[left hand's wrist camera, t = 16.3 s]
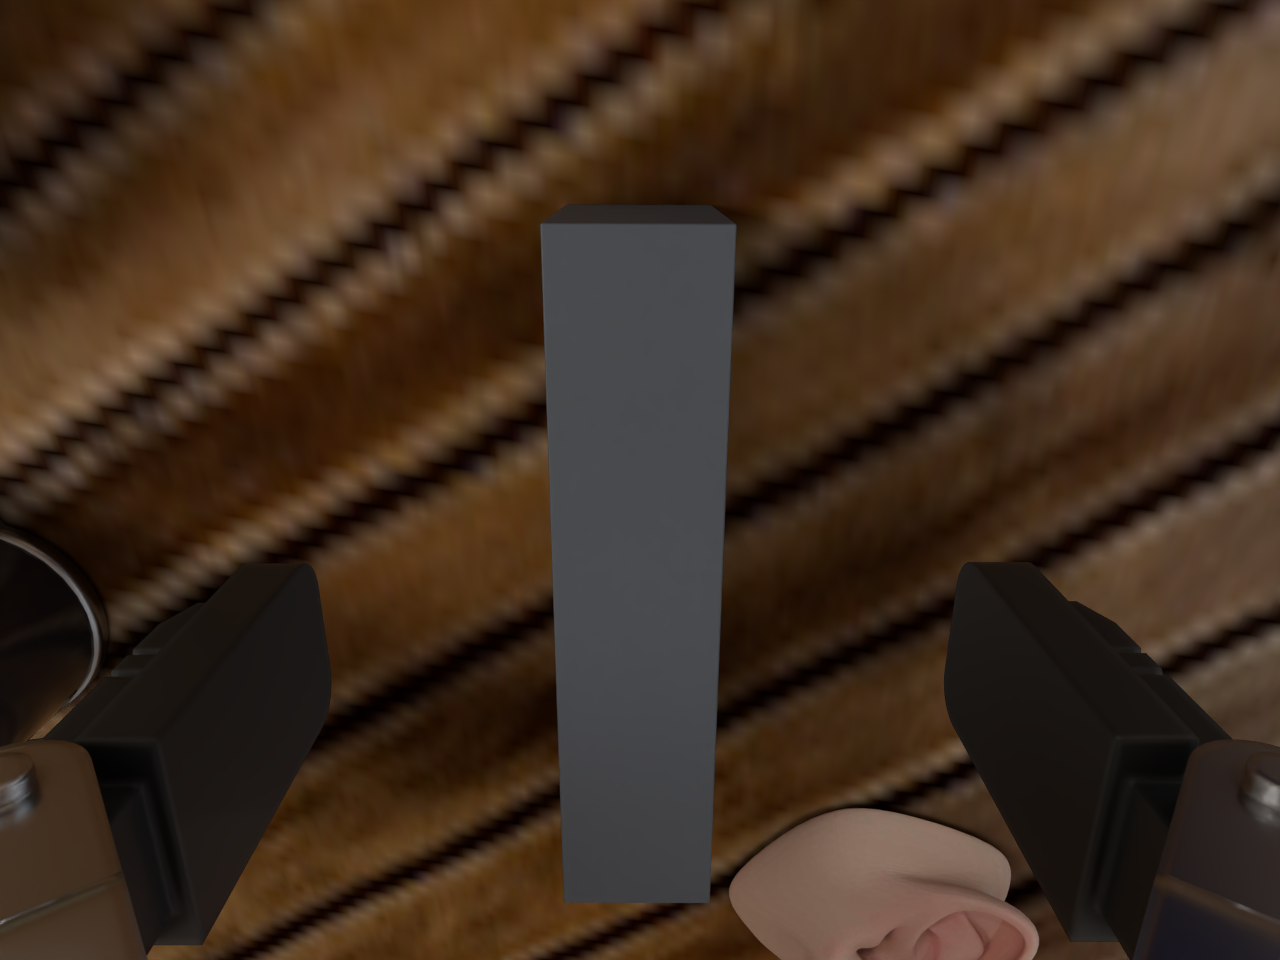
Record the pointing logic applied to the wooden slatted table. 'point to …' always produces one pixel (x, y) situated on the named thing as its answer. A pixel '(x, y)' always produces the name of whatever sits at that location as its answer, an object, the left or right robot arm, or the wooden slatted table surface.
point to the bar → (637, 537)
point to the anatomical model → (881, 892)
